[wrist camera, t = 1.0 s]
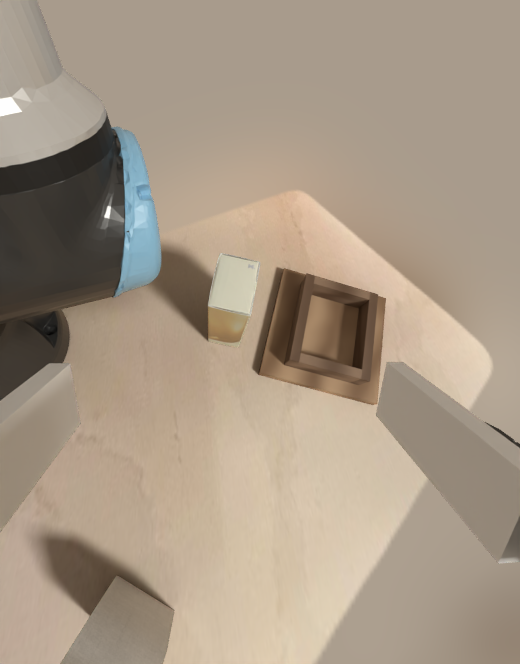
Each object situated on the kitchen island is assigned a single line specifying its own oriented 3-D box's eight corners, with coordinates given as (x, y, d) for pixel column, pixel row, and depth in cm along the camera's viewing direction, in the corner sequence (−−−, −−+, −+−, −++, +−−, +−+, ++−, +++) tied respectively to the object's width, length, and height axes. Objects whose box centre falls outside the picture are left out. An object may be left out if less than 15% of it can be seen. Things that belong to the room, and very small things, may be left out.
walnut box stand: (258, 374, 38) (264, 367, 35) (282, 272, 44) (289, 256, 40) (372, 404, 40) (390, 401, 36) (381, 301, 45) (397, 289, 42)
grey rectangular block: (116, 574, 29) (74, 639, 20) (174, 610, 29) (159, 692, 20) (91, 617, 28) (33, 707, 19) (151, 655, 28) (123, 764, 19)
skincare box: (216, 300, 41) (219, 248, 30) (247, 307, 41) (261, 258, 30) (206, 344, 39) (205, 305, 27) (238, 350, 39) (251, 315, 28)
